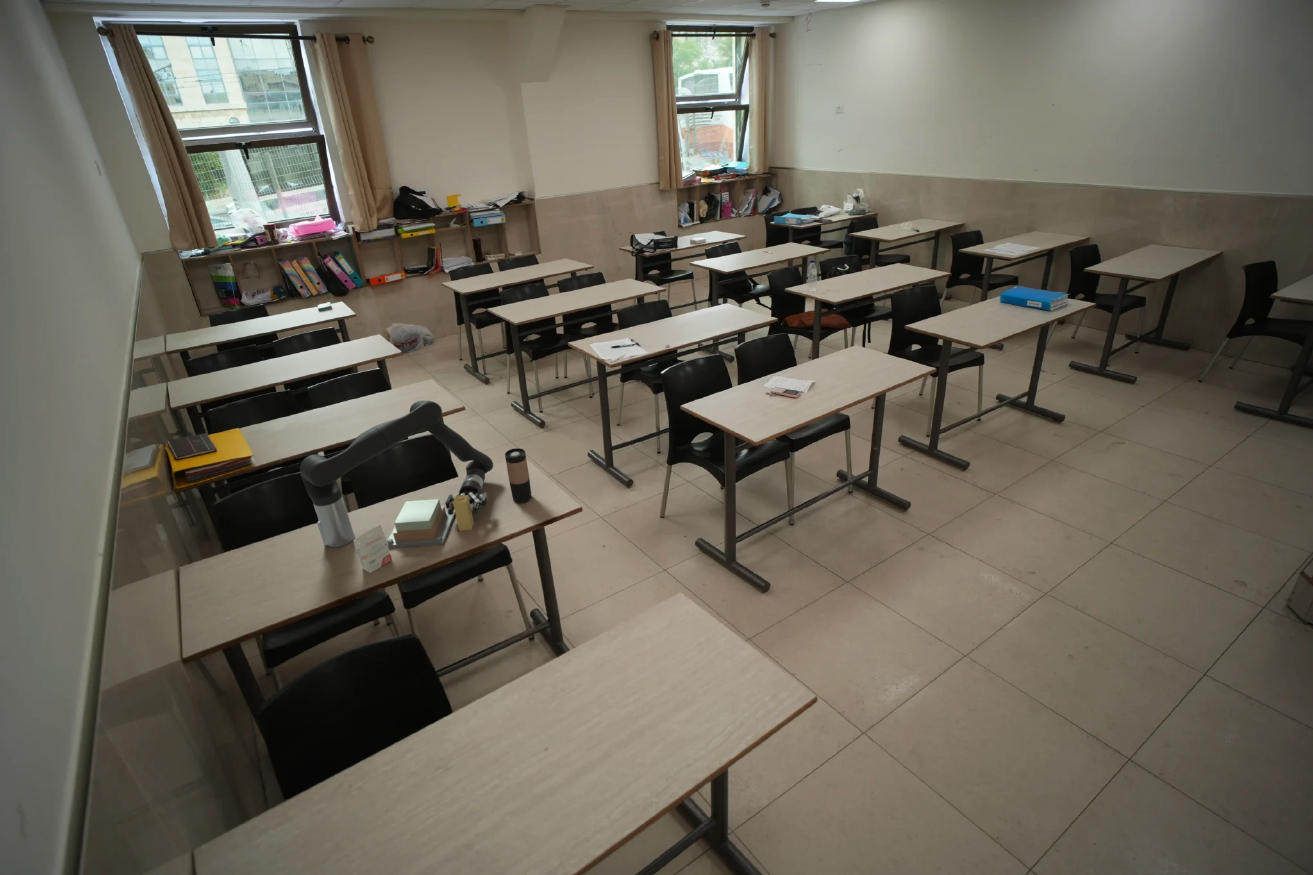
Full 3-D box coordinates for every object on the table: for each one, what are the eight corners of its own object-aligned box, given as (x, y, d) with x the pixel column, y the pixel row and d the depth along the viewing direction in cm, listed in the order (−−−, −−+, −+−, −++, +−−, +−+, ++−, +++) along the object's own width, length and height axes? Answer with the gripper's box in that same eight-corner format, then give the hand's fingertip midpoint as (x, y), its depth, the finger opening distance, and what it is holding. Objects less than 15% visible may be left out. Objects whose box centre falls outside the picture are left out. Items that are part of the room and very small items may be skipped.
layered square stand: (385, 548, 228) (379, 528, 224) (402, 516, 245) (397, 497, 242) (443, 544, 228) (438, 524, 224) (455, 512, 246) (451, 494, 242)
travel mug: (510, 496, 255) (502, 451, 246) (529, 491, 257) (522, 446, 248) (515, 505, 248) (507, 459, 239) (534, 500, 251) (527, 454, 242)
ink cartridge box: (384, 555, 224) (373, 519, 217) (392, 560, 221) (382, 524, 215) (361, 568, 218) (349, 532, 211) (369, 573, 215) (358, 537, 209)
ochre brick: (459, 530, 235) (452, 500, 229) (461, 523, 239) (455, 493, 233) (471, 529, 235) (465, 499, 230) (473, 522, 239) (467, 493, 233)
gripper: (450, 480, 246) (440, 504, 232) (488, 478, 246) (480, 501, 232) (454, 497, 249) (444, 521, 235) (492, 495, 250) (484, 518, 235)
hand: (462, 511), depth 233 cm, fingers open, 8 cm apart
